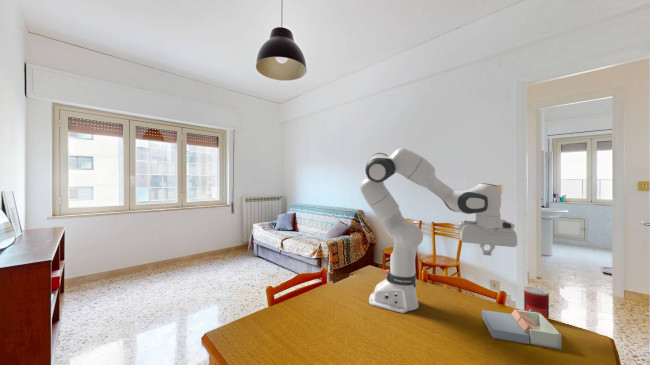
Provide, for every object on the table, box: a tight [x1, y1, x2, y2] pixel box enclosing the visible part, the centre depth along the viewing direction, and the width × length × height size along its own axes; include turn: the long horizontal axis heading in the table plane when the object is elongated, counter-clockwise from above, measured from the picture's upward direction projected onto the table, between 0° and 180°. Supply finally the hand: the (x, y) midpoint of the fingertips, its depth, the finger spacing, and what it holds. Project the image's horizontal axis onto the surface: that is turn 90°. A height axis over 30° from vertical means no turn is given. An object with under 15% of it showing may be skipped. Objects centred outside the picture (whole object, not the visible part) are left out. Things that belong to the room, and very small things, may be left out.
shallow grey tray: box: [481, 309, 530, 345], centre depth 97 cm, size 11×15×3 cm
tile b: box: [518, 317, 540, 335], centre depth 91 cm, size 6×6×2 cm
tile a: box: [511, 308, 538, 327], centre depth 98 cm, size 6×6×2 cm
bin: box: [516, 309, 562, 350], centre depth 94 cm, size 9×15×5 cm, turn 161°
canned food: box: [523, 286, 550, 320], centre depth 107 cm, size 8×8×11 cm
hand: (486, 255), depth 106 cm, fingers closed
